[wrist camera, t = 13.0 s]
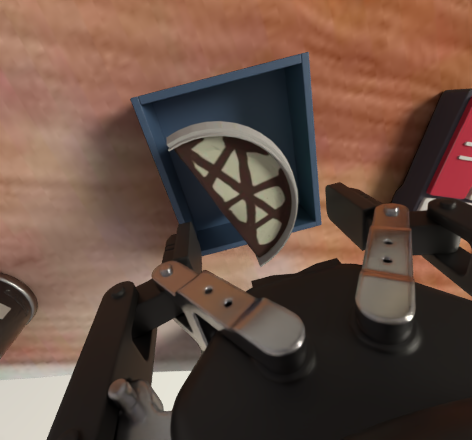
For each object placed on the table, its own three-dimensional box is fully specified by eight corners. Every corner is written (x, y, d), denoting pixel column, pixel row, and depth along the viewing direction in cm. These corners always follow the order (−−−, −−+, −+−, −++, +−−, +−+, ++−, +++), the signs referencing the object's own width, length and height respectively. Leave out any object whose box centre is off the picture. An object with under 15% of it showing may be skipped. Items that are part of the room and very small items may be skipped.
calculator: (568, 107, 25) (486, 240, 31) (518, 107, 29) (453, 225, 35) (478, 86, 23) (408, 233, 29) (438, 89, 27) (383, 218, 33)
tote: (193, 232, 30) (192, 258, 26) (144, 96, 23) (129, 98, 19) (303, 204, 30) (321, 224, 26) (287, 59, 23) (308, 51, 19)
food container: (290, 187, 28) (331, 231, 19) (245, 216, 29) (263, 271, 20) (230, 83, 23) (248, 79, 14) (176, 123, 24) (162, 143, 15)
